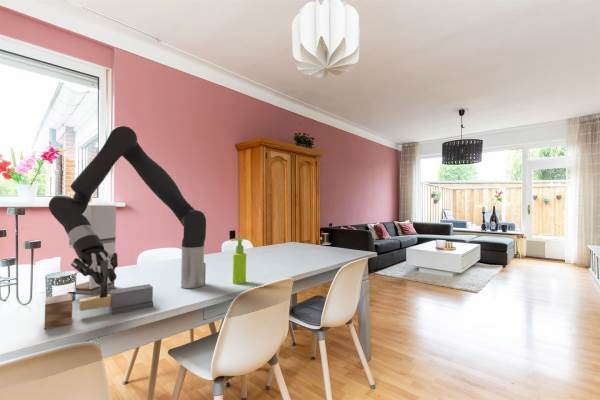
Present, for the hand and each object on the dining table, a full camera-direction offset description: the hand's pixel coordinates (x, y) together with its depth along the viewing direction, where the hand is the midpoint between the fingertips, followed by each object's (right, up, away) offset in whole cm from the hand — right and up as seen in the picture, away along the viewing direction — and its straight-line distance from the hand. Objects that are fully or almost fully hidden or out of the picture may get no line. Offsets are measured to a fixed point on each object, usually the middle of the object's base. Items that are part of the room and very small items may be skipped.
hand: (107, 281), depth 91 cm
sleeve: (+4, -11, +6) cm, 13 cm away
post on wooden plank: (0, -8, +3) cm, 8 cm away
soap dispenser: (+33, -12, +39) cm, 53 cm away
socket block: (-10, -10, -7) cm, 16 cm away
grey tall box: (-25, -11, +27) cm, 38 cm away
